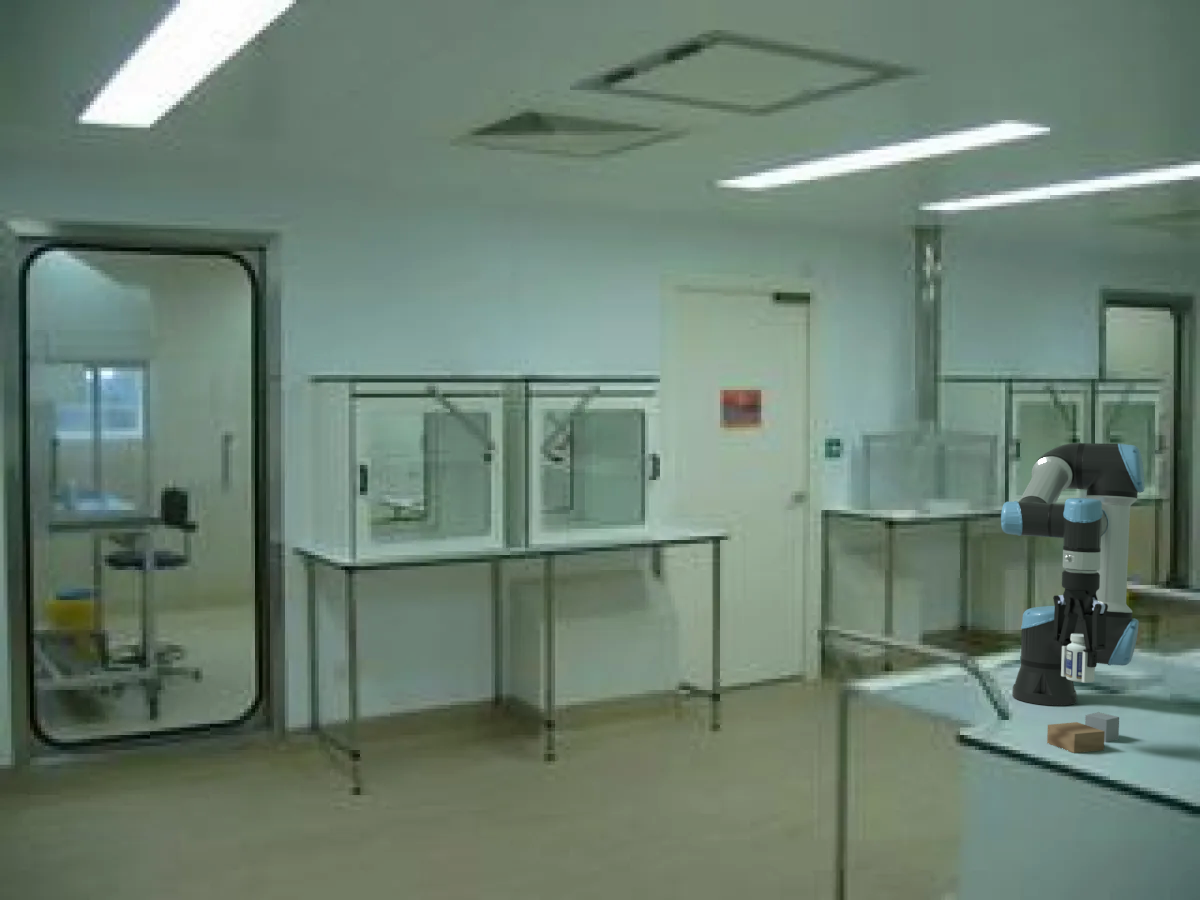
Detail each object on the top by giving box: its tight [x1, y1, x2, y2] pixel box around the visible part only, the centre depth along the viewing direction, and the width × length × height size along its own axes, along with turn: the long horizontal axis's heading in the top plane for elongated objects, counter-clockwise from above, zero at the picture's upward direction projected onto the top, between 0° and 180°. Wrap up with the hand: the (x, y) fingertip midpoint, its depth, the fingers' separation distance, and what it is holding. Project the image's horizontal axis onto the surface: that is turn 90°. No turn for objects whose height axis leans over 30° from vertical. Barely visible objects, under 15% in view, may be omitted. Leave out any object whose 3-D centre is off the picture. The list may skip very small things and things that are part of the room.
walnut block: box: [1046, 721, 1105, 754], centre depth 257 cm, size 8×8×4 cm
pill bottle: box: [1066, 633, 1086, 683], centre depth 257 cm, size 5×5×10 cm
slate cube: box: [1084, 711, 1120, 743], centre depth 265 cm, size 5×5×5 cm
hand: (1077, 678), depth 257 cm, fingers closed on pill bottle, 5 cm apart
